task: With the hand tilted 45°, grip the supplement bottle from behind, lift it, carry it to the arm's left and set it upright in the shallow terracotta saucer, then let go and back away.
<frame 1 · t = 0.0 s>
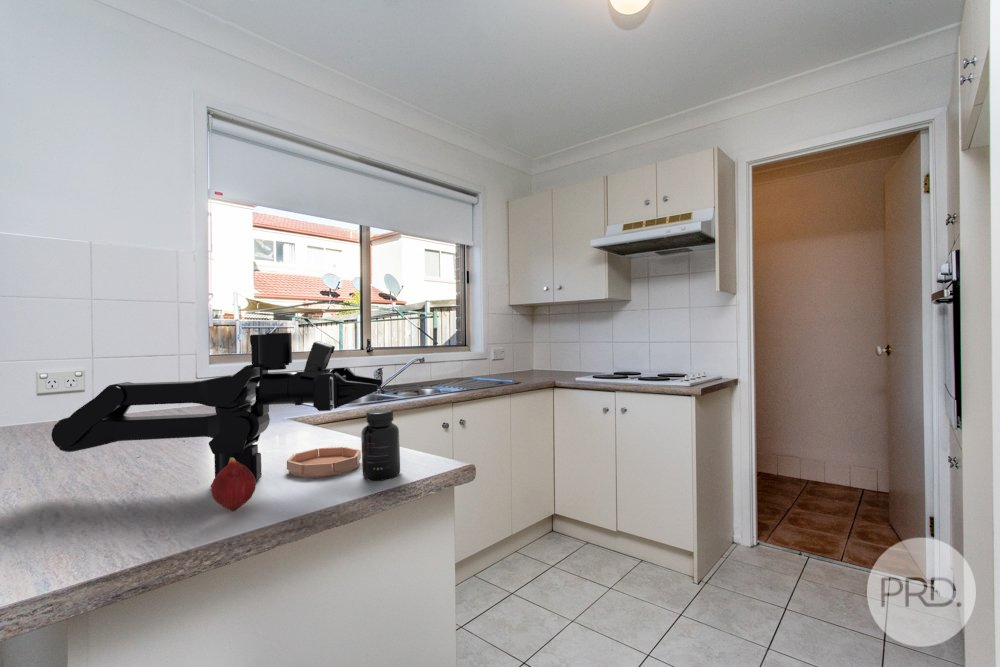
hand: (379, 384, 90), 17 cm above the countertop, tool horizontal, fingers open, 9 cm apart
supplement bottle: (381, 476, 88), on the countertop
onion: (234, 512, 72), on the countertop
terracotta saucer: (325, 467, 94), on the countertop
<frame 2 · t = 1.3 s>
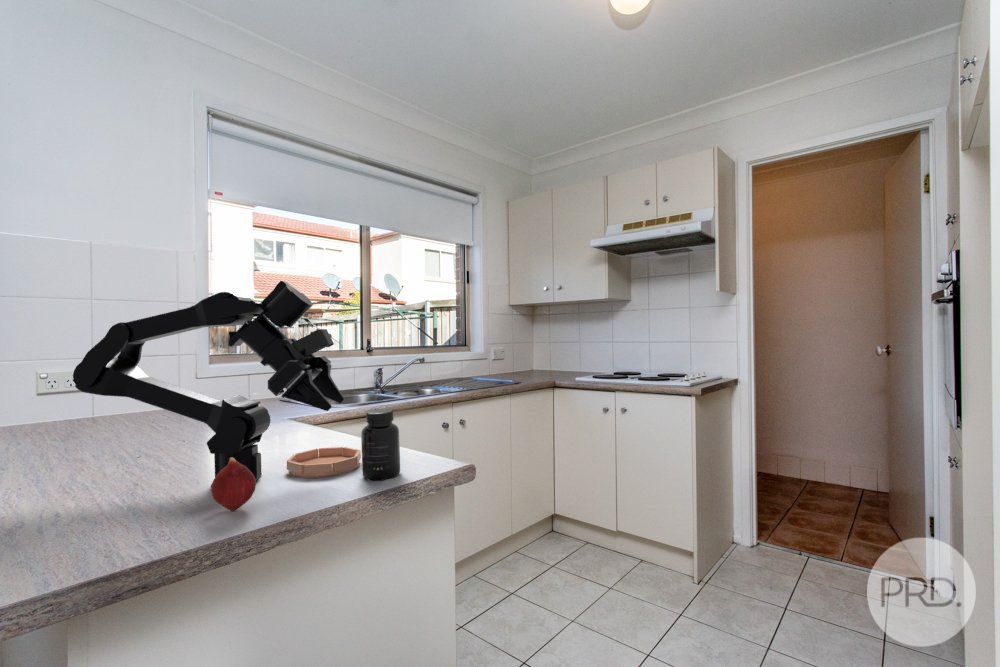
hand: (336, 404, 87), 13 cm above the countertop, tool tilted 45°, fingers open, 9 cm apart
nothing on the countertop moved.
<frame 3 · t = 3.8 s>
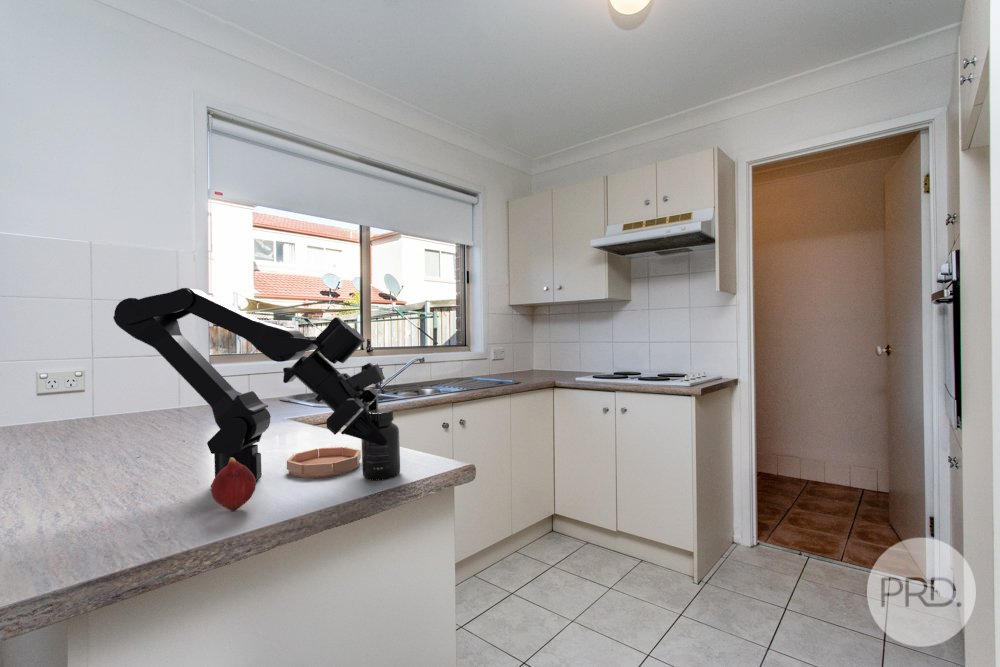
hand: (388, 439, 88), 7 cm above the countertop, tool tilted 45°, fingers closed on supplement bottle, 6 cm apart
supplement bottle: (381, 476, 88), on the countertop, touching gripper
everything else where it was.
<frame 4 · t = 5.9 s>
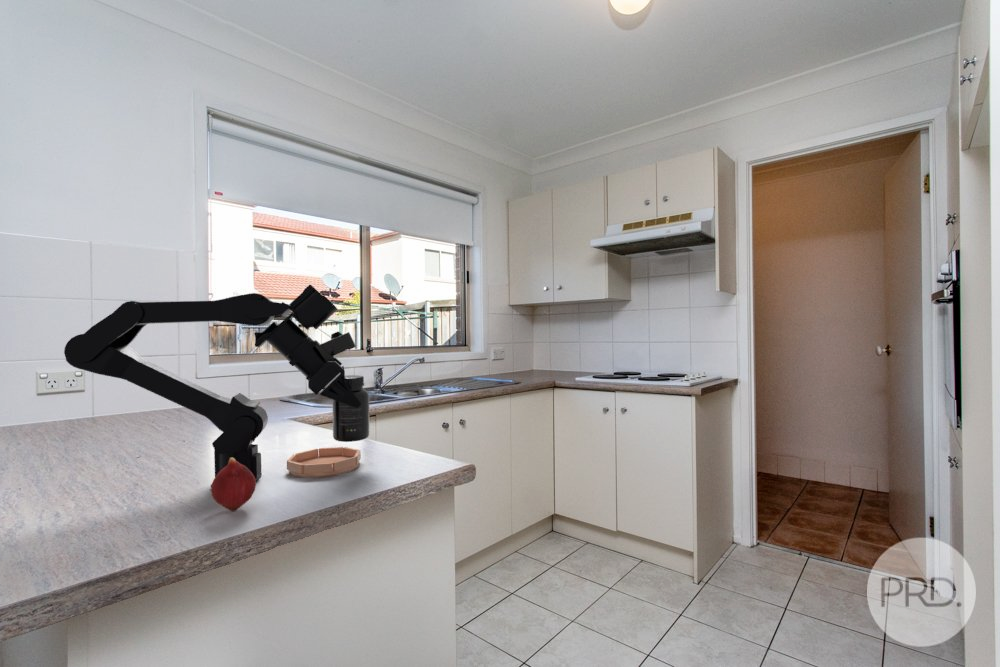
hand: (358, 403, 92), 13 cm above the countertop, tool tilted 45°, fingers closed on supplement bottle, 6 cm apart
supplement bottle: (351, 439, 92), point 6 cm above the countertop, touching gripper
everything else where it was.
when the fingers open (9 cm above the countertop, at t = 7.9 s): supplement bottle drops 1 cm, resting on terracotta saucer.
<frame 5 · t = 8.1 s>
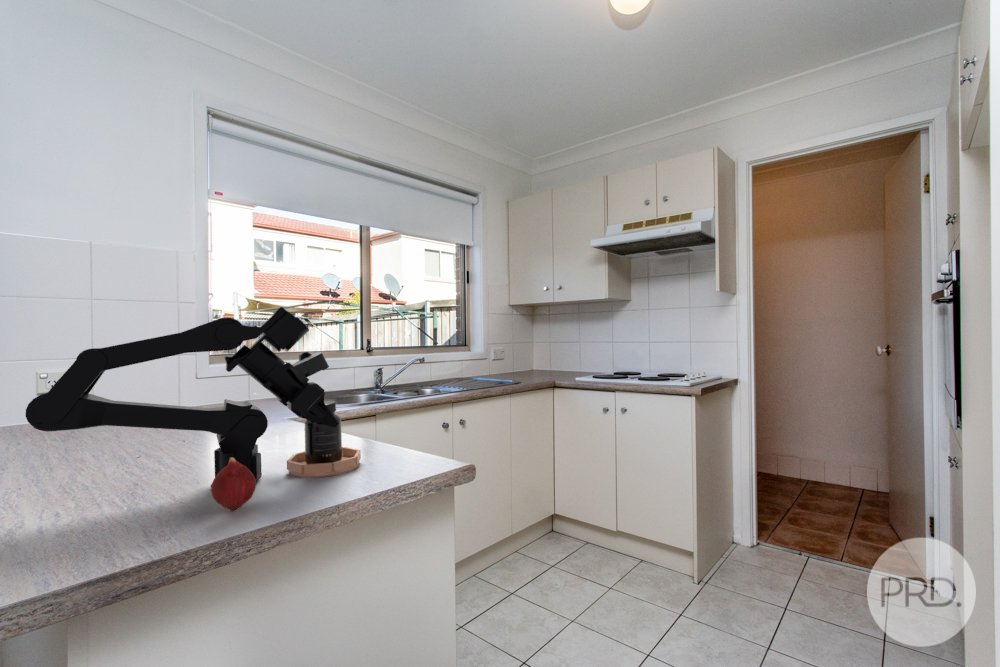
hand: (331, 421, 95), 9 cm above the countertop, tool tilted 45°, fingers open, 9 cm apart
supplement bottle: (323, 464, 94), point 1 cm above the countertop, touching terracotta saucer
everything else where it was.
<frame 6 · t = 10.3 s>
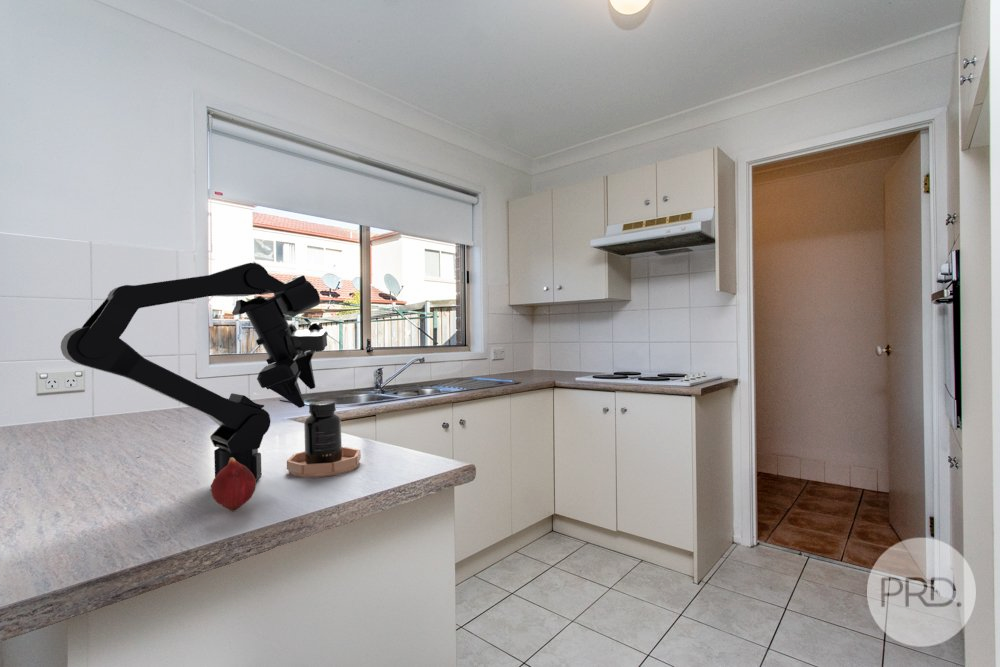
hand: (307, 397, 95), 14 cm above the countertop, tool tilted 25°, fingers open, 9 cm apart
nothing on the countertop moved.
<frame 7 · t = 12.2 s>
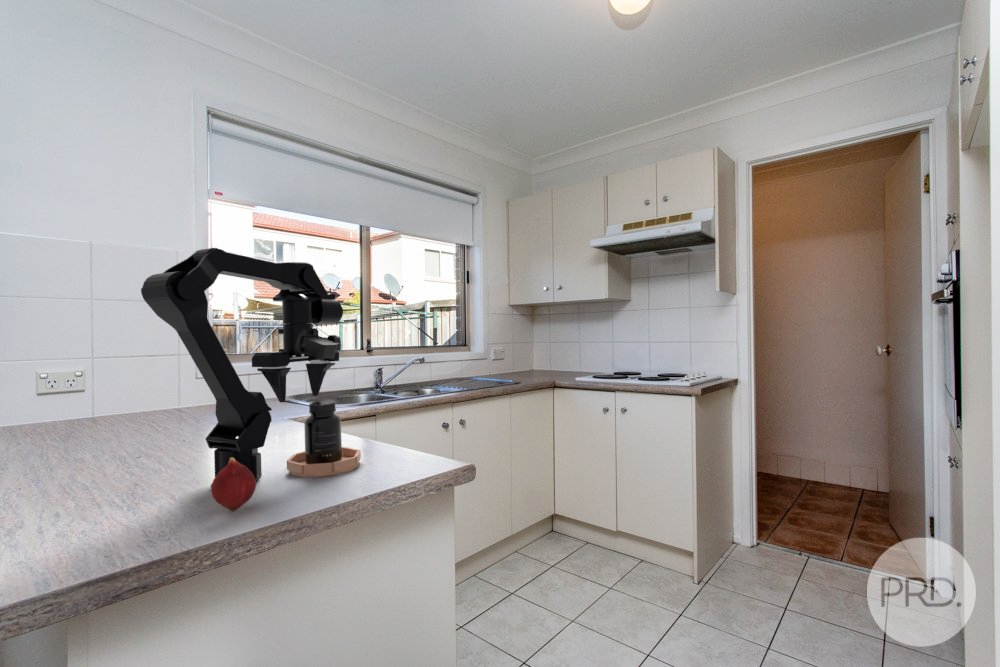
hand: (299, 398, 99), 13 cm above the countertop, tool pointing down, fingers open, 9 cm apart
nothing on the countertop moved.
at the end: supplement bottle 0.4 cm off-centre on the terracotta saucer, point 0.6 cm above the terracotta saucer's base; supplement bottle tilted 0°; the gripper is holding nothing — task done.
